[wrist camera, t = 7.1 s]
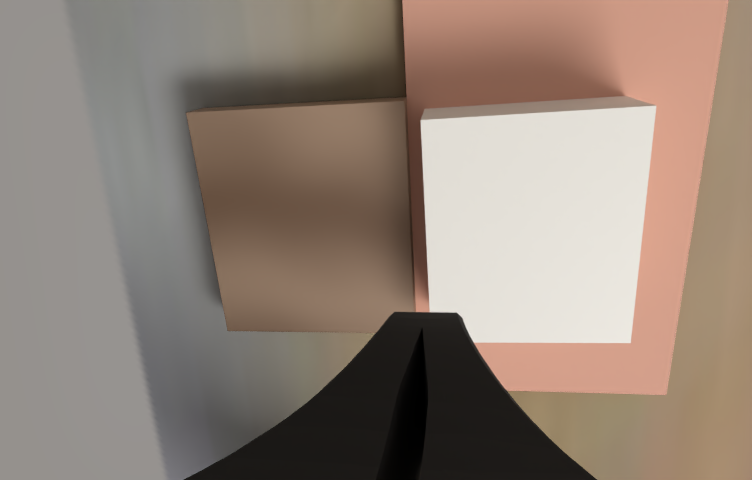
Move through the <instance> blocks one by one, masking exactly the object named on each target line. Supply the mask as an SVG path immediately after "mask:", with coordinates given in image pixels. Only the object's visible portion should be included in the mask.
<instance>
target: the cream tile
mask: <svg viewBox="0 0 752 480" xmlns="http://www.w3.org/2000/svg"><path fill="white" fill-rule="evenodd" d="M655 114H656V105H653V104H650V103H647V102H644V101H640V100H637V99H634V98H631V97H628V96H615V97H600V98H584V99H568V100H553V101H537V102H522V103H506V104H491V105H475V106H460V107H444V108H429V109H424V112H423V115H422V117H421V141H422V162H423V183H424V204H425V225H426V246H427V267H428V288H429V309H430V312H450V313H458V314H459V315H460V316H461V317H462V318H463V321H464V324H465V326H466V329H467V331H468V333H469V335H470V337H471V339H472V340H473V342H474V343H631V336H632V327H633V317H634V308H635V299H636V290H637V280H638V271H639V262H640V253H641V243H642V234H643V225H644V216H645V207H646V197H647V188H648V179H649V170H650V160H651V151H652V142H653V133H654V123H655Z"/></svg>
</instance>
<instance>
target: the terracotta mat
mask: <svg viewBox="0 0 752 480" xmlns="http://www.w3.org/2000/svg"><path fill="white" fill-rule="evenodd" d="M728 1H729V0H402V3H403V26H404V49H405V71H406V94H407V117H408V140H409V163H410V186H411V208H412V231H413V254H414V277H415V300H416V312H430V309H429V288H428V267H427V246H426V225H425V204H424V183H423V162H422V141H421V117H422V115H423V112H424V109H429V108H444V107H460V106H475V105H491V104H506V103H522V102H537V101H553V100H568V99H584V98H600V97H615V96H628V97H631V98H634V99H637V100H640V101H644V102H647V103H650V104H653V105H656V114H655V123H654V133H653V142H652V151H651V160H650V170H649V179H648V188H647V197H646V207H645V216H644V225H643V234H642V243H641V253H640V262H639V271H638V280H637V290H636V299H635V308H634V317H633V327H632V336H631V343H474V344H475V346H476V347H477V349H478V351H479V352H480V354H481V356H482V357H483V359H484V360H485V362H486V363H487V364H488V366H489V367H490V369H491V370H492V372H493V373H494V375H495V376H496V378H497V379H498V380H499V382H500V383H501V384H502V386H503V387H504V388H505V389H506V390H509V391H546V392H582V393H618V394H655V395H666V393H667V387H668V381H669V375H670V368H671V362H672V356H673V349H674V343H675V337H676V330H677V324H678V318H679V311H680V305H681V299H682V292H683V286H684V280H685V273H686V267H687V261H688V254H689V248H690V242H691V235H692V229H693V223H694V216H695V210H696V204H697V197H698V191H699V185H700V178H701V172H702V166H703V159H704V153H705V147H706V140H707V134H708V128H709V121H710V115H711V109H712V102H713V96H714V90H715V84H716V77H717V71H718V65H719V58H720V52H721V46H722V39H723V33H724V27H725V20H726V14H727V8H728Z"/></svg>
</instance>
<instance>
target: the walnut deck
mask: <svg viewBox="0 0 752 480" xmlns="http://www.w3.org/2000/svg"><path fill="white" fill-rule="evenodd" d="M186 115H187V120H188V126H189V131H190V136H191V141H192V147H193V152H194V157H195V162H196V168H197V173H198V178H199V183H200V189H201V194H202V199H203V204H204V209H205V215H206V220H207V225H208V230H209V236H210V241H211V246H212V251H213V257H214V262H215V267H216V272H217V278H218V283H219V288H220V293H221V299H222V304H223V309H224V314H225V319H226V325H227V330H228V331H272V332H356V333H376V332H377V331H378V330H379V329H380V327H381V326H382V325H383V324H384V322H385V321H386V320H387V319H388V317H389V316H390V315H391V314H393V313H394V312H416V300H415V277H414V254H413V231H412V208H411V186H410V163H409V140H408V117H407V97H395V98H377V99H359V100H341V101H323V102H305V103H287V104H269V105H250V106H232V107H214V108H201V109H198V110H194V111H190V112H187V113H186Z"/></svg>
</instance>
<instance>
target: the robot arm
mask: <svg viewBox="0 0 752 480" xmlns="http://www.w3.org/2000/svg"><path fill="white" fill-rule="evenodd" d="M184 480H597V479H595V478H594V477H593V476H592V475H591V474H589V473H588V472H587V471H586V470H585V469H583V468H582V467H581V466H580V465H579V464H577V463H576V462H575V461H574V460H573V459H571V458H570V457H569V456H568V455H567V454H565V453H564V452H563V451H562V450H561V449H560V448H559V447H558V446H557V445H556V444H555V443H554V442H553V441H552V440H551V439H549V438H548V437H547V436H546V434H545V433H544V432H543V431H542V430H541V429H540V428H539V427H538V426H537V425H536V424H535V423H534V422H533V421H532V420H531V419H530V418H529V417H528V416H527V415H526V413H525V412H524V411H523V410H522V409H521V408H520V407H519V405H518V404H517V403H516V402H515V401H514V399H513V398H512V397H511V396H510V394H509V393H508V392H507V391H506V389H505V388H504V387H503V386H502V384H501V383H500V382H499V380H498V379H497V378H496V376H495V375H494V373H493V372H492V370H491V369H490V367H489V366H488V364H487V363H486V362H485V360H484V359H483V357H482V356H481V354H480V352H479V351H478V349H477V347H476V346H475V344H474V342H473V340H472V339H471V337H470V335H469V333H468V331H467V329H466V326H465V324H464V321H463V318H462V317H461V316H460V315H459V314H458V313H450V312H394V313H393V314H391V315H390V316H389V317H388V319H387V320H386V321H385V322H384V324H383V325H382V326H381V327H380V329H379V330H378V331H377V332H376V334H375V335H374V336H373V337H372V338H371V340H370V341H369V342H368V343H367V344H366V345H365V346H364V348H363V349H362V350H361V351H360V352H359V353H358V354H357V355H356V356H355V357H354V358H353V360H352V361H351V362H350V363H349V364H348V365H347V366H346V367H345V368H344V369H343V370H342V371H341V372H340V373H339V374H338V375H337V376H336V377H335V378H334V379H333V380H332V381H330V382H329V383H328V384H327V385H326V386H325V387H324V388H323V389H322V390H321V391H320V392H319V393H318V394H317V395H315V396H314V397H313V398H312V399H311V400H310V401H308V402H307V403H306V404H305V405H303V406H302V407H301V408H299V409H298V410H297V411H295V412H294V413H293V414H292V415H290V416H289V417H288V418H286V419H285V420H283V421H282V422H281V423H279V424H278V425H276V426H275V427H273V428H272V429H270V430H269V431H267V432H265V433H264V434H262V435H261V436H259V437H258V438H256V439H254V440H253V441H251V442H250V443H248V444H247V445H245V446H243V447H242V448H240V449H239V450H237V451H236V452H234V453H232V454H231V455H229V456H227V457H225V458H224V459H222V460H220V461H218V462H216V463H214V464H213V465H211V466H209V467H207V468H205V469H204V470H202V471H200V472H198V473H196V474H194V475H192V476H190V477H188V478H186V479H184Z"/></svg>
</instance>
